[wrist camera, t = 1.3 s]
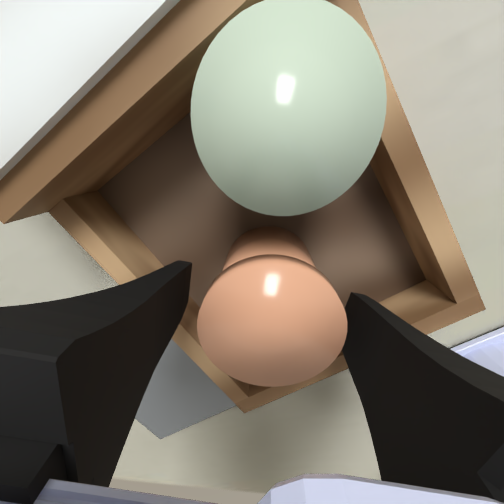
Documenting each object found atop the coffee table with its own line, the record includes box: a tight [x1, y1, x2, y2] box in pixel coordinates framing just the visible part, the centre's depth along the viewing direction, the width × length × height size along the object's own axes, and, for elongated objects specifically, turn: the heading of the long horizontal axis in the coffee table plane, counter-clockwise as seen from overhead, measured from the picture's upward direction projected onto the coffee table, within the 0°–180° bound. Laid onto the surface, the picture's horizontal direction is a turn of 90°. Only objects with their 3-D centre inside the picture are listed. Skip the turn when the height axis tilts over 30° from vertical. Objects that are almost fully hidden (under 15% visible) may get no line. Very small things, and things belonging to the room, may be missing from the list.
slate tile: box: [135, 339, 236, 439], centre depth 18 cm, size 9×9×1 cm
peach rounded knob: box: [197, 226, 347, 387], centre depth 12 cm, size 5×5×6 cm
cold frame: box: [0, 0, 485, 413], centre depth 10 cm, size 24×14×5 cm, turn 34°
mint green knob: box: [191, 0, 387, 216], centre depth 9 cm, size 5×5×6 cm
